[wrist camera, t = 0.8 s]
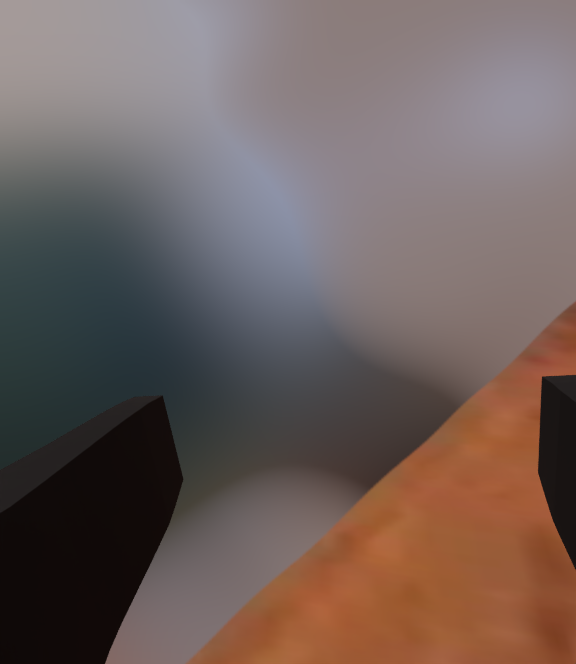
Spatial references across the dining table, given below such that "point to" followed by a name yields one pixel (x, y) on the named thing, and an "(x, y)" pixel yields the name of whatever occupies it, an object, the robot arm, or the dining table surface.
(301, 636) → the dining table surface
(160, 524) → the robot arm
